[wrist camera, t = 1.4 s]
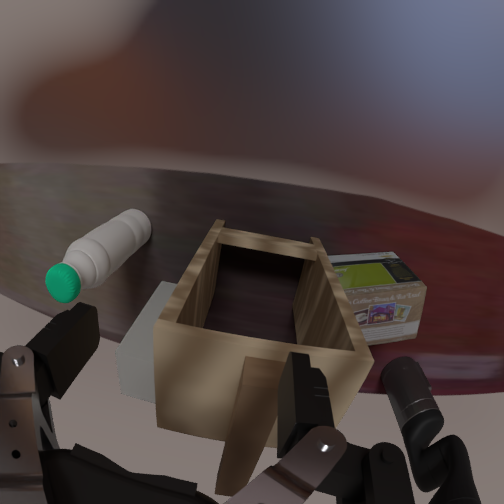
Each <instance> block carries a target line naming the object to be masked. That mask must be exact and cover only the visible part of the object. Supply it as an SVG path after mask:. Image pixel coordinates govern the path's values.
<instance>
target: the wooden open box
mask: <svg viewBox="0 0 504 504" xmlns="http://www.w3.org/2000/svg"><path fill="white" fill-rule="evenodd" d="M224 226H225V221H224V220H218V219H217V220H216V221H215V223H214V224H213V226H212V228H211V229H210V231H209V233H208V234H207V236H206V237H205V239H204V241H203V242H202V244H201V246H200V247H199V249H198V251H197V252H196V254H195V256H194V257H193V259H192V261H191V262H190V264H189V266H188V267H187V269H186V271H185V272H184V274H183V276H182V277H181V279H180V281H179V283H178V284H177V286H176V288H175V289H174V291H173V293H172V295H171V296H170V298H169V300H168V302H167V303H166V305H165V307H164V309H163V310H162V312H161V314H160V316H159V317H158V319H157V321H156V323H155V325H154V326H153V353H154V384H155V402H156V417H157V427H160V428H164V429H167V430H171V431H176V432H180V433H184V434H188V435H193V436H198V437H203V438H208V439H213V440H219V441H226V437H227V433H228V429H229V425H230V420H231V416H232V412H233V408H234V403H235V399H236V395H237V390H238V386H239V382H240V377H241V373H242V369H243V364H244V360H245V356H249V357H255V358H262V359H268V360H275V361H282V362H286V360H287V357H288V354H289V352H290V351H291V352H298V353H305V354H309V356H310V363H311V367H314V368H320V370H321V371H322V373H323V374H324V375H325V377H326V380H327V385H328V391H329V398H330V402H331V408H332V413H333V419H334V425H335V429H336V427H337V426H338V424H339V423H340V421H341V419H342V418H343V416H344V414H345V413H346V411H347V410H348V408H349V406H350V405H351V403H352V401H353V400H354V398H355V396H356V394H357V393H358V391H359V389H360V387H361V386H362V384H363V382H364V380H365V378H366V376H367V375H368V373H369V371H370V369H371V367H372V365H373V363H374V359H373V357H372V355H371V352H370V350H369V347H368V345H367V343H366V340H365V338H364V335H363V333H362V331H361V328H360V326H359V324H358V321H357V319H356V317H355V315H354V312H353V310H352V308H351V306H350V303H349V301H348V299H347V297H346V294H345V292H344V290H343V288H342V286H341V284H340V281H339V279H338V277H337V275H336V273H335V271H334V269H333V267H332V264H331V262H330V260H329V258H328V256H327V254H326V252H325V250H324V248H323V246H322V244H321V242H320V240H319V238H314V237H311V238H310V242H309V244H308V243H303V242H298V241H293V240H288V239H282V238H277V237H272V236H267V235H261V234H256V233H250V232H245V231H240V230H234V229H229V228H224ZM222 244H228V245H233V246H238V247H244V248H249V249H255V250H260V251H266V252H271V253H276V254H282V255H287V256H293V257H298V258H303V259H305V261H304V265H303V269H302V273H301V276H300V280H299V284H298V287H297V291H296V295H295V298H294V302H293V313H294V321H295V329H296V337H297V344H290V343H283V342H277V341H270V340H264V339H258V338H252V337H246V336H240V335H235V334H229V333H224V332H218V331H213V330H208V329H203V326H204V323H205V320H206V317H207V314H208V311H209V308H210V305H211V301H212V298H213V295H214V292H215V286H216V279H217V272H218V265H219V259H220V252H221V245H222ZM264 447H271V448H272V447H273V448H277V418H276V420H275V423H274V425H273V428H272V430H271V432H270V435H269V437H268V439H267V442H266V444H265V446H264Z"/></svg>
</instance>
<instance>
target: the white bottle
mask: <svg viewBox="0 0 504 504" xmlns="http://www.w3.org/2000/svg"><path fill="white" fill-rule="evenodd" d="M150 235H151V223H150V221H149V219H148V217H147V216H146V215H145V214H144V213H143V212H141V211H139V210H137V209H129V210H126V211H124V212H122V213H121V214H120V215H118V216H116V217H114V218H112V219H111V220H110V221H108V222H107V223H105V224H103V225H101V226H99V227H97V228H95V229H94V230H92V231H91V232H89V233H88V234H86V235H85V236H84V237H82V238H80V239H78V240H76V241H74V242H73V243H72V244H71V245H70V246H69V248H68V249H67V252H66V255H65V257H64V259H63V262H61V263H59V264H56V265H54V266H53V267H51V268H50V269H49V270H48V272H47V275H46V279H45V280H46V286H47V289H48V291H49V293H50V294H51V296H53V298H55V300H57V301H59V302H62V303H69V302H71V301H72V300H74V299H75V298H76V297H77V296H78V294H79V293H80V291H81V289H87V288H95V287H98V286H100V285H101V284H103V283H104V282H105V281H106V279H107V278H108V276H110V275H111V274H112V273H113V272H115V271H116V270H117V269H118V268H119V267H120V266H121V265H122V264H123V263H124V262H125V261H126V260H127V259H128V258H129V257H130V255H132V254H134V253H135V252H136V251H137V250H138V249H139V247H141V246H142V245H144V244H145V243H146V242H147V241H148V239H149V238H150Z"/></svg>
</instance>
